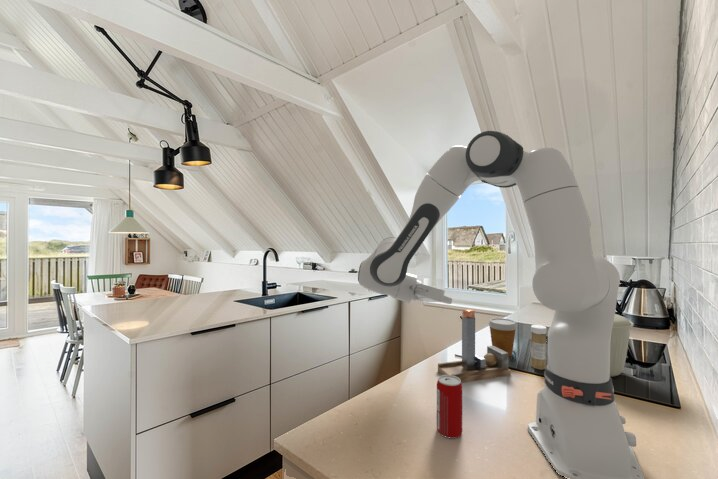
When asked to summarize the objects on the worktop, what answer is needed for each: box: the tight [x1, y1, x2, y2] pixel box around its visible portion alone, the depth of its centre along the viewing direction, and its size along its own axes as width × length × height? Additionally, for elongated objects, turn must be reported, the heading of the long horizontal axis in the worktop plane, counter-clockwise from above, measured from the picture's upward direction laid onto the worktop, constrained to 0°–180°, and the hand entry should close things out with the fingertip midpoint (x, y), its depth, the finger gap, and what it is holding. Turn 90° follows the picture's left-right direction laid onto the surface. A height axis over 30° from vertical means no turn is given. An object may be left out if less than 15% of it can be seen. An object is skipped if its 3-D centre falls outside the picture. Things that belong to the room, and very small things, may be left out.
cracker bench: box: [437, 345, 512, 383], centre depth 103 cm, size 20×9×6 cm, turn 106°
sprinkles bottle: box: [530, 324, 548, 370], centre depth 108 cm, size 5×5×13 cm
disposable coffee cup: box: [488, 317, 518, 358], centre depth 119 cm, size 10×10×12 cm
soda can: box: [436, 374, 463, 439], centre depth 73 cm, size 6×6×12 cm
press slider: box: [461, 308, 486, 370], centre depth 103 cm, size 6×6×18 cm
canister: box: [610, 313, 635, 378], centre depth 105 cm, size 18×18×21 cm
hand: (450, 301), depth 103 cm, fingers closed
